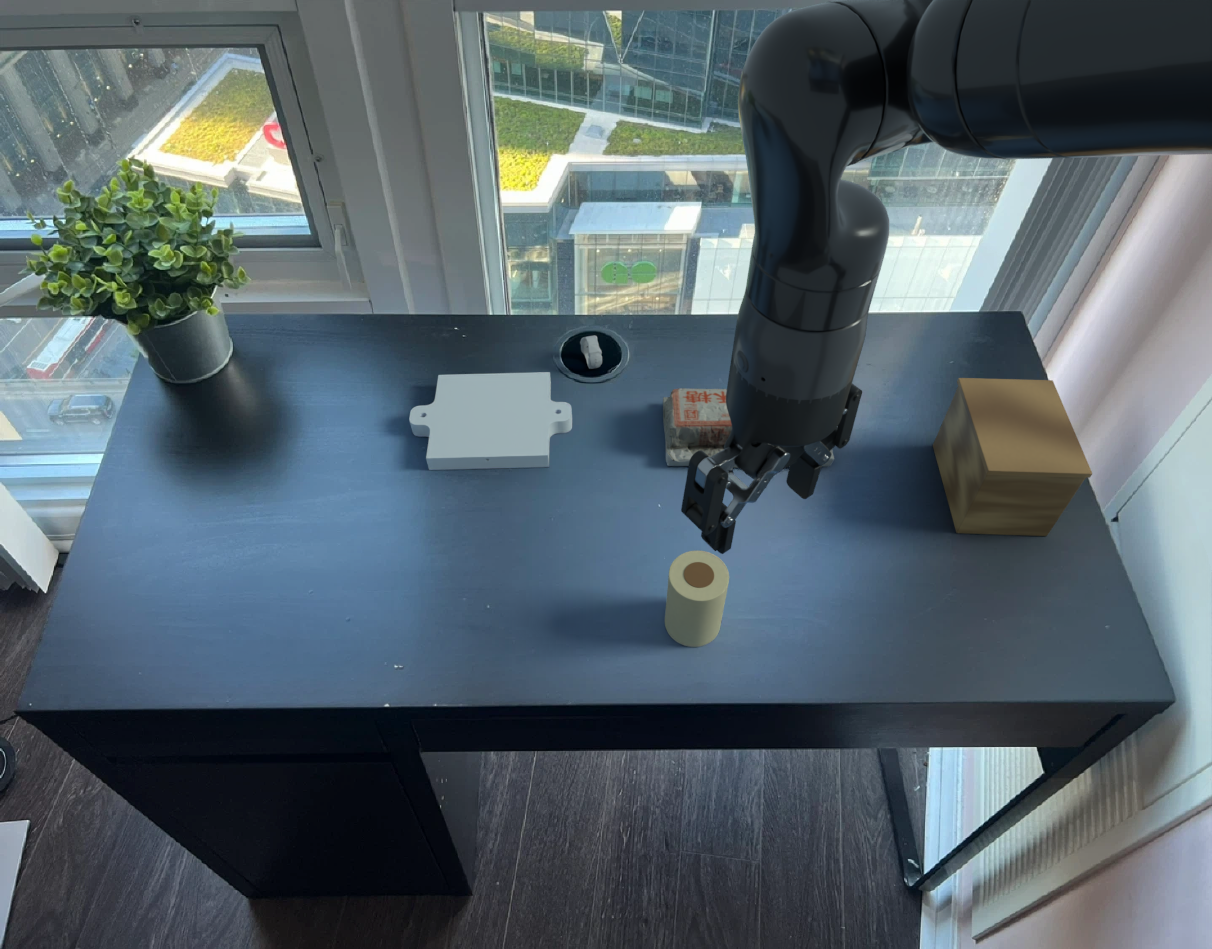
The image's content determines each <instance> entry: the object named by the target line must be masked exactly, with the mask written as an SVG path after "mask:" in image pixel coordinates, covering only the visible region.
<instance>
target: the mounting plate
mask: <svg viewBox="0 0 1212 949" xmlns="http://www.w3.org/2000/svg"><path fill="white" fill-rule="evenodd" d="M551 381H552V379H551V372H550V371H541V372H537V371H536V372H501V373H500V372H499V373H495V372H493V373H466V374H465V373H460V374H459V373H458V374H438V376H437V382H436V388H435V395H434V400H433V402H431V403H430V404H425V405H424V404H423V405H416V406H414V407H413V408H412V409H411V410H410V413H409V419H408V421H409V425H410V428H411V432H412V434H413V435H414V436H415V437H419V438H421V437H422V438H423V437H425V438H428V442H427V443H428V444H427V450H426V454H425V460H426V463H427V464H426V465H427V467H428V471H444V470H445V471H451V470H452V471H453V470H489V469H490V470H491V469H524V468H525V469H526V468H529V469H530V468H531V469H532V468H549V467H550V444H551V443H550V441H551V437H552V436H554V435H556V434H566V433H570V432H571V430H572V429H573V410H572V408H573V407H572V405H571V404H570V403H569V402H565V401H554V400H552V398H551V396H552V395H551V394H552V382H551Z"/></svg>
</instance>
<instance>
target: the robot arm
mask: <svg viewBox="0 0 1212 949" xmlns="http://www.w3.org/2000/svg"><path fill="white" fill-rule="evenodd" d="M737 93H738V94H737V110H738V111H737V112H738V121H739V127H740V132H741V133H740V134H741V138H742V144H743V148H744V155H745V160H746V167H747V174H748V175H747V176H748V183H749V191H750V200H751V208H752V215H753V222H754V234H753V239H752V245H751V252H750V259H749V264H748V273H747V278H746V285H745V290H744V294H743V298H742V300H741V303H740V306H739V309H738V313H737V318H736V322H735V323H736V324H735V330H734V338H733V344H732V350H731V357H730V358H731V359H730V364H729V372H728V377H727V378H728V379H727V386H726V389H727V392H726V405H727V409H728V413H729V416H730V420H731V424H732V430H731V433H730V435H729V437H728V439H727V440H726V442H725V445H724V450H722V451H720V452H718V453H717V454H715V455H713V456H711V457H709V456H708V455H707V454H706V453H704V452H703V451H702V450H699V451H697V452H696V453H694V454H693V456H692V457H691V458H690V461H689V466H687V474H686V479H685V484H684V489H683V490H684V491H683V497H682V503H681V508H680V511H681V513H682V514H683V515H684V516H685V517H686V518H687V519H688V520H689V521H690V522H691V523H693V525H695V527H697V528H698V529H699V531H701V534H700V537H701V539H702V540H703V541H704V542H705V543H706V544H707V545H708V546H709V547H710V548H711V549H712V550H713V551H714V552H718V553H719V554H721V555H723V554H726V553H727V552H728V551H730V550H731V549H732V546H733V540H734V534H735V528H736V523H737V520H736V519H737V518H738V516H739V515H740V514H741V512H742V510H744V508H745V506H746V505H747V504H753V503H756V502H757V501H758V499H760V497H761V495H762V494H763V492H764V491H765V490H766V488H767V487H768V485H769V484H770V482H771V481H772V479H773V478H774V477H775V476H776V475H777V474H778V473H781V472H782V471H783V470H784V469H786V468H788V473H787V476H786V480H785V481H786V484H787V486H788V488H790V489H791V490H792V491H793V492H794V493H795V494H796V495H798V496H799V497H800V498H801V499H803V500H806V499H808V498H810V497H811V496H812V495H814V493H815V490H816V489H815V488H816V485H817V482H818V480H819V476H820V473H821V471H822V470H821V469H822V467H823V466H822V465H824V464H825V463H826V462H828V461H829V459H830V457H831V455H832V453H831V452H830V450H831V449H832V450H833V449H834V448H835V447H836V448H837V449H838V450H841V449H844V447H846V446H847V445H848V443H849V442H850V439H851V436H852V432H853V428H854V426H855V422H856V417H857V414H858V410H859V406H860V402H861V400H862V399H861V398H862V395H863V390H862V389H861V388H859V387H858V386H857V385H855V384H854V383H853V381H854V379H855V378H854V377H855V375H856V371H857V367H858V364H859V361H860V357H861V354H862V350H863V346H864V343H865V340H866V339H865V338H866V335H867V330H868V319H869V312H870V308H871V303H872V301H873V297H874V294H875V291H876V287H877V284H878V281H879V276H880V273H881V270H882V266H883V262H884V259H885V255H886V251H887V247H888V243H889V238H890V217H889V215H888V210H887V207H886V206H885V203H883V201H882V200H881V198H880V197H878V196H877V195H876V193H874V192H873V191H871V190H870V189H869V188H867V187H864V186H863V185H860V184H858V183H856V182H853V181H849V180H846V179H842V177H843V174H844V172H845V170H846V169H847V167H851V166H852V165H856V164H859V163H863V162H866V161H869V160H872V159H875V158H877V157H883V156H885V155H888V154H891V153H894V152H897V151H900V150H901V151H902V150H904V149H907V148H911V147H916V146H917V147H918V146H921V145H927V144H935V145H937V146H939V147H940V148H942V149H944V150H945V151H947V152H950V153H952V154H954V155H958V156H963V157H967V158H972V159H973V158H974V159H981V160H1003V161H1004V160H1005V161H1006V160H1039V159H1043V160H1044V159H1087V158H1088V159H1089V158H1090V159H1093V158H1119V157H1120V158H1123V157H1147V156H1149V157H1152V156H1153V157H1155V156H1183V155H1184V156H1185V155H1186V156H1188V155H1189V156H1190V155H1193V156H1194V155H1212V0H830V1H829V0H828V1H826V2H821V3H816V4H812V5H807V6H803V7H801V8H796V9H792V10H790V11H788V12H786V13H784V14H781V15H779V16H778V17H776V18H775V19H774V20H772V21H771V22H770V23H769V24H768V25H766V26H765V28H764V29H763V30H762V31H761V33H760V34H759V35H758V36H757V38H756V40H755V42H754V43H753V45H752V47H751V48H750V51H749V53H748V55H747V57H746V59H745V62H744V65H743V68H742V71H741V73H740V79H739V84H738V90H737ZM735 465H737V467H738V468H737V469H739V470H741V471H742V472H743V473H745V475H747V476H748V477H749V478H750V479H752V481H751V483H750V484H749V486H748V485H747V484H746V483H744V481H742V480H741V479H740V478H738V476H736V474H735V473H734V468H733V466H735ZM789 466H790V467H789ZM726 490H727V491H728V492H729V493H730V494H732V499H731V501H730V502H729V504H728V505H726V504H725V503H724V497H725V493H726Z"/></svg>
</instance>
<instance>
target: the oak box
mask: <svg viewBox="0 0 1212 949" xmlns="http://www.w3.org/2000/svg"><path fill="white" fill-rule="evenodd" d="M956 384H957V387H956V390H955V392H954V394H953V397H952V399H951V402H950V404H949V406H948V408H947V411H946V413H945V416H944V418H943V419H942V420H943V421H942V423H941V425H940V427H939V429H938V432H937V434H936V437H935V438H934V440H933V444H932V448H933V452H934V456H935V460H936V464H937V466H938V471H939V474H940V477H941V481H942V485H943V488H944V493H945V496H946V500H947V504H948V507H949V510H950V514H951V518H952V522H953V525H954V529H955V532H956V534H970V535H973V534H974V535H999V536H1001V535H1002V536H1029V537H1031V536H1033V537H1048V535H1049V534H1050V533H1051V531H1052V529H1053V528H1054V526H1055V525H1056V523H1057V522H1058V520H1059V519H1060V517H1061V516H1062V514H1063V513H1064V511H1065V510H1066V508H1067V507H1068V505H1069V504H1070V502H1071V501H1072V499H1073V498H1074V497H1075V495H1076V493H1077V492H1078V490H1079V489H1080V487H1081V486H1082V484H1083V483H1084V481H1085V480H1086V478H1087V479H1090V478H1091V477H1092V476H1093V470H1091V467H1090V465H1089V461H1088V460H1087V458H1086V455H1085V453H1084V451H1083V448H1082V446H1081V443H1080V440H1079V439H1078V437H1077V434H1076V431H1075V429H1074V426H1073V425H1072V423H1071V420H1070V418H1069V415H1068V413H1067V411H1066V408H1065V406H1064V404H1063V401H1062V399H1061V396H1060V394H1059V392H1058V389H1057V387H1056V385H1055V382H1054V380H1051V379H1021V378H1020V379H1018V378H1016V379H1015V378H979V377H978V378H977V377H974V378H973V377H958V378H957V381H956Z"/></svg>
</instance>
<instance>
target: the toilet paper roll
mask: <svg viewBox="0 0 1212 949" xmlns="http://www.w3.org/2000/svg"><path fill="white" fill-rule="evenodd" d="M667 577H668V578H667V589H666V599H665V600H666V602H665V611H664V612H665V613H664V626H665V629H666V632H667V634H668V635H669V636H670V638H671V639H672V640H673V641H675V642H676V643H677V644H679V645H682V646H685V647H689V648H700V647H704V646H706V645H709V644H710V643H712V642H713V641H714V640H715V639H716V638H717V637H718V635H719V633H720V630H721V626H722V621H723V615H724V610H725V604H726V600H727V595H728V589H729V583H730V572H729V569H728V567H727V565H726V564H725V562H724V561H723V560H722V559H721V558H720V557H719V556H717V555H716V554H713V553H712V552H709V551H705V550H697V549H696V550H688V551H685V552H683V553H681V554H679V555H677V557H676V558H674V560H673V561H672V562H671V564H670V566H669V569H668V575H667Z"/></svg>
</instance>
